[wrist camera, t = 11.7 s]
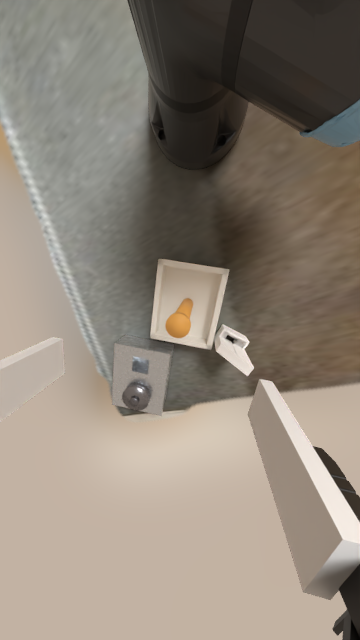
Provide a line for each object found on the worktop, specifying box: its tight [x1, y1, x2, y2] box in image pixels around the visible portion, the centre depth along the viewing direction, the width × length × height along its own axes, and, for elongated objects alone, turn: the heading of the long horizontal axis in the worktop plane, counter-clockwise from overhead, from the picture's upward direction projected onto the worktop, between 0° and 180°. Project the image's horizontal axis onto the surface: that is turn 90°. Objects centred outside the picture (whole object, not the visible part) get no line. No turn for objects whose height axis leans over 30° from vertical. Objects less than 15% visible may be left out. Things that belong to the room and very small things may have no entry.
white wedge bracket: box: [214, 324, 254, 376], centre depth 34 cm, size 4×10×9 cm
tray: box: [150, 258, 230, 350], centre depth 35 cm, size 16×13×4 cm
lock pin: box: [165, 298, 193, 338], centre depth 29 cm, size 3×3×15 cm
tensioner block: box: [112, 335, 174, 416], centre depth 39 cm, size 16×12×8 cm
